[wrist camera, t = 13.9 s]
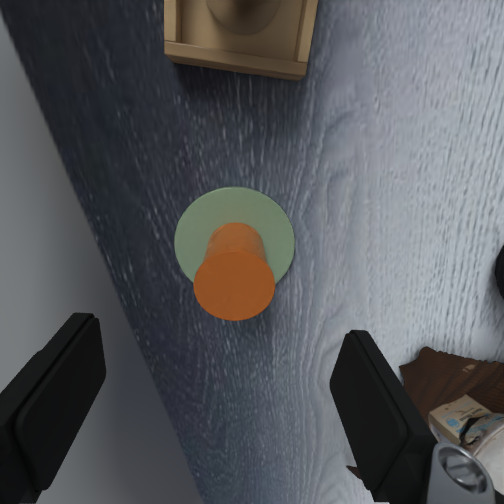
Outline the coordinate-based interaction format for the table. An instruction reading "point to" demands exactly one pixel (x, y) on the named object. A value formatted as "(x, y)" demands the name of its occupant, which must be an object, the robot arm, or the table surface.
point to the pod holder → (241, 40)
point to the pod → (234, 274)
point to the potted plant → (460, 405)
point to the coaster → (234, 211)
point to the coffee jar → (500, 272)
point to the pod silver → (244, 14)
